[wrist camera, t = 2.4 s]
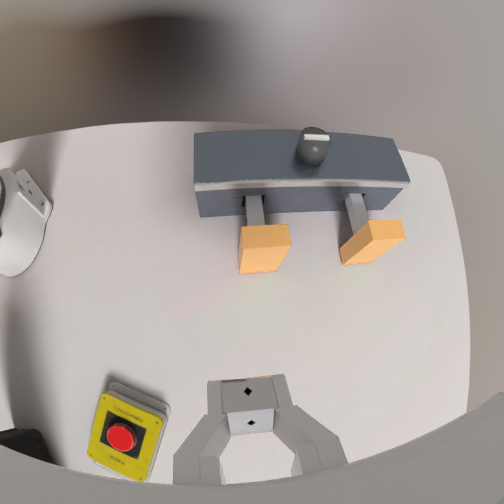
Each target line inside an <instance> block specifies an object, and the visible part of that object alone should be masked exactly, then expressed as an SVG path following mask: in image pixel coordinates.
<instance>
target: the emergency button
mask: <svg viewBox="0 0 504 504" xmlns="http://www.w3.org/2000/svg"><path fill="white" fill-rule="evenodd" d="M169 415H170V407H169V405H167V404H166V403H164V402H161V401H159V400H156V399H154V398H152V397H149V396H147V395H145V394H142V393H140V392H138V391H136V390H134V389H131V388H129V387H127V386H125V385H123V384H121V383H119V382H116V381H113V382H111V383H110V385H109V387H108V390H107V392H105V393H103V394H102V395H101V397H100V401H99V404H98V408H97V412H96V416H95V420H94V424H93V428H92V432H91V437H90V441H89V446H88V451H87V454H88V456H89V457H90V458H91V459H92V461H93V463H95V464H96V465H98V466H100V467H102V468H104V469H105V470H107V471H109V472H111V473H113V474H115V475H117V476H120V477H122V478H124V479H126V480H129V481H137V482H146V483H149V479H150V476H151V473H152V469H153V466H154V463H155V460H156V456H157V453H158V450H159V447H160V444H161V440H162V437H163V434H164V431H165V428H166V425H167V421H168V418H169Z"/></svg>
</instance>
